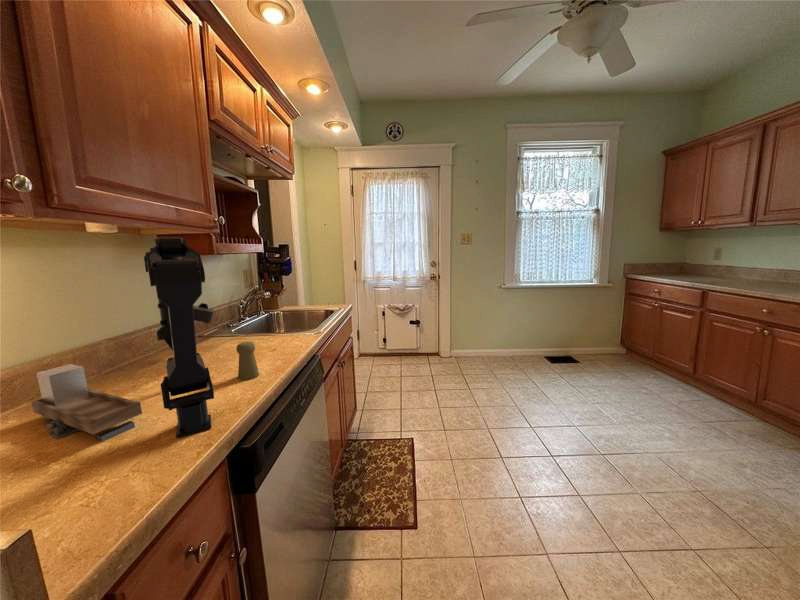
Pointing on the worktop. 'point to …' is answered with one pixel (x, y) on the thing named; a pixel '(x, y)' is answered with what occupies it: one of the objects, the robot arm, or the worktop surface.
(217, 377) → the worktop surface
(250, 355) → the cork
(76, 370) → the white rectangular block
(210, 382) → the robot arm
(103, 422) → the wooden serving tray
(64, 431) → the pivot stand
